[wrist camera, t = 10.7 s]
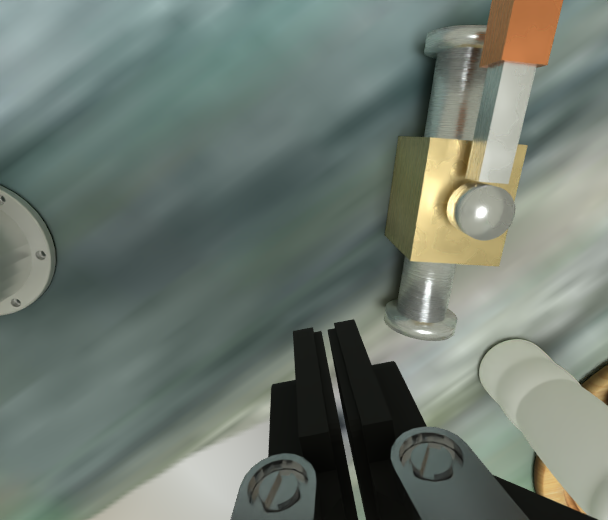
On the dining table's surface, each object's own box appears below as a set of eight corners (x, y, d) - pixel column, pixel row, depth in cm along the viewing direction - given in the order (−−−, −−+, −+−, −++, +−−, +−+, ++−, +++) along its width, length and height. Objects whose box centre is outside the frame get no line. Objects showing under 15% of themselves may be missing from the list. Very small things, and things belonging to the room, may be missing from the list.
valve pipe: (374, 307, 40) (397, 352, 32) (412, 41, 33) (454, 11, 25) (442, 310, 41) (482, 355, 33) (493, 49, 34) (561, 22, 25)
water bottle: (542, 385, 44) (845, 680, 20) (479, 399, 44) (707, 709, 21) (539, 329, 42) (874, 587, 18) (473, 344, 42) (719, 620, 18)
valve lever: (490, -24, 24) (516, -43, 22) (546, -17, 25) (578, -35, 22) (441, 229, 29) (457, 239, 26) (488, 232, 29) (509, 243, 27)
